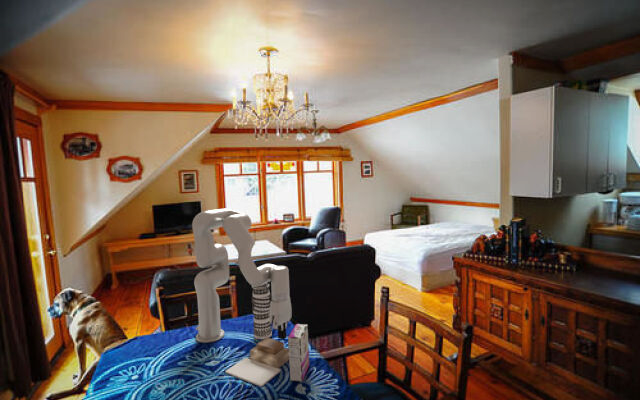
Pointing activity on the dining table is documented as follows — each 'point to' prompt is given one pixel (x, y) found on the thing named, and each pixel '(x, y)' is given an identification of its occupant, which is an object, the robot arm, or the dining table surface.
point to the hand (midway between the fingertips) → (282, 338)
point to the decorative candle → (261, 311)
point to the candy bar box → (298, 352)
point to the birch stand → (270, 357)
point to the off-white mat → (253, 371)
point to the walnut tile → (270, 346)
